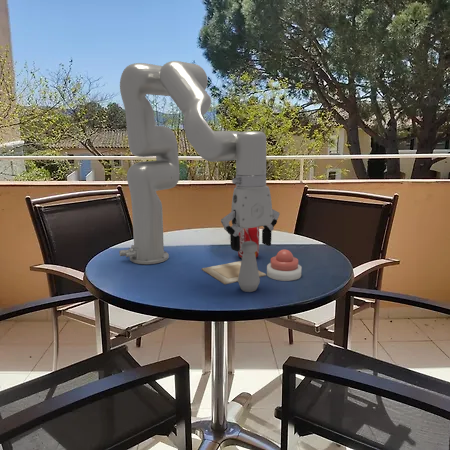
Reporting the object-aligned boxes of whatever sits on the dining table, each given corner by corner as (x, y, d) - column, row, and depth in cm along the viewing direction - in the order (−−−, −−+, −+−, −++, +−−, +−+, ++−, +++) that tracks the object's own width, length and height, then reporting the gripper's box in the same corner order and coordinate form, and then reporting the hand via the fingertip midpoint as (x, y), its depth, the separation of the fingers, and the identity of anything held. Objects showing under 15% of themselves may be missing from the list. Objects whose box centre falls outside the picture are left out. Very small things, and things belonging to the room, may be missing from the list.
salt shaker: (246, 283, 114) (247, 238, 111) (263, 288, 110) (265, 241, 107) (233, 289, 110) (233, 242, 107) (251, 295, 106) (251, 246, 103)
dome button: (281, 272, 115) (282, 255, 114) (265, 264, 122) (265, 248, 120) (303, 267, 119) (304, 251, 118) (286, 260, 125) (287, 244, 124)
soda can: (257, 261, 133) (258, 225, 130) (236, 260, 134) (236, 224, 131) (260, 254, 139) (260, 220, 137) (239, 253, 141) (239, 219, 138)
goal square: (224, 284, 113) (224, 282, 113) (201, 269, 125) (201, 268, 125) (266, 275, 120) (266, 273, 120) (240, 262, 132) (240, 260, 132)
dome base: (280, 283, 114) (281, 274, 114) (260, 272, 123) (260, 264, 122) (308, 276, 119) (308, 268, 118) (286, 266, 127) (286, 259, 127)
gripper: (229, 185, 96) (230, 256, 100) (287, 180, 104) (286, 245, 108) (213, 182, 102) (215, 249, 106) (270, 178, 111) (269, 239, 114)
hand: (251, 247), depth 107 cm, fingers open, 9 cm apart
